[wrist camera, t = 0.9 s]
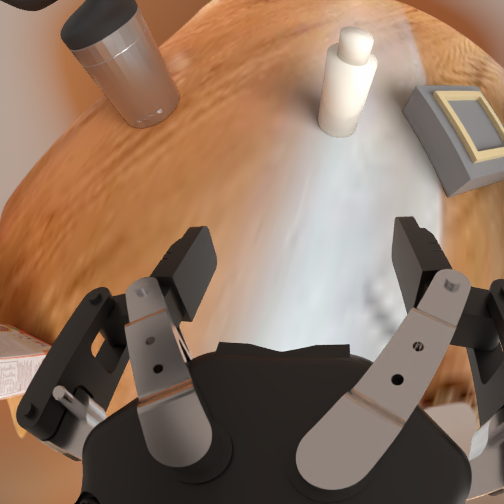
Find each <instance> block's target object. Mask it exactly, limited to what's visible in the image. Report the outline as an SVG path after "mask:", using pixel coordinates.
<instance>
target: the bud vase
mask: <svg viewBox="0 0 504 504" xmlns="http://www.w3.org/2000/svg"><path fill="white" fill-rule="evenodd" d="M373 41H374V39H373V37H372V35H371V34H370V33H368V32H367V31H365V30H363V29H360V28H357V27H344V28H342V29H341V31H340V38H339V43H336V44H333V45H331V46H330V47H329V48H328V51H327V58H326V66H325V73H324V80H323V88H322V95H321V101H320V108H319V115H318V124H319V126H320V128H321V129H322V130H323V131H324V132H325V133H326V134H328V135H330V136H332V137H336V138H345V137H348V136H350V135H352V134H353V133H354V131H355V129H356V126H357V124H358V121H359V118H360V115H361V112H362V109H363V107H364V104H365V101H366V98H367V95H368V92H369V89H370V86H371V83H372V80H373V77H374V74H375V71H376V68H377V59H376V58H375V56H374V55H373V54H372V53H371V49H372V45H373Z"/></svg>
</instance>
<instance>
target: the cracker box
mask: <svg viewBox="0 0 504 504" xmlns="http://www.w3.org/2000/svg"><path fill="white" fill-rule="evenodd" d="M51 347H52V345H50V344H48V343H46V342H44V341H42V340H40V339H38V338H36V337H34V336H32V335H30V334H28V333H26V332H24V331H22V330H21V329H19V328H17V327H15V326H13V325H11V324H0V400H2V399H7V398H11V397H15V396H19V395H23V394H25V392H26V390H27V388H28V386H29V384H30V383H31V381H32V379H33V377H34V375H35V374H36V372H37V370H38V368H39V367H40V365H41V363H42V361H43V360H44V358H45V356H46V355H47V353H48V351H49V350H50V348H51Z"/></svg>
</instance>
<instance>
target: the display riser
mask: <svg viewBox="0 0 504 504" xmlns="http://www.w3.org/2000/svg"><path fill="white" fill-rule="evenodd" d="M403 113H404V115H405V117H406V118H407V120H408V122H409V123H410V125H411V127H412V128H413V130H414V132H415V133H416V135H417V137H418V139H419V140H420V142H421V144H422V146H423V148H424V149H425V151H426V153H427V155H428V157H429V159H430V161H431V163H432V165H433V167H434V169H435V171H436V173H437V175H438V177H439V179H440V181H441V184H442V186H443V188H444V190H445V193H446V195H447V197H451V196H454V195H458V194H461V193H464V192H467V191H471V190H474V189H477V188H480V187H483V186H487V185H490V184H493V183H496V182H499V181H503V180H504V126H503V124H502V123H501V121H500V120H499V118H498V116H497V115H496V113H495V112H494V110H493V108H492V107H491V105H490V104H489V102H488V101H487V100H486V98H485V97H484V95H483V94H482V92H481V91H480V90H479V88H478V87H477V86H449V85H439V86H416V87H415V89H414V91H413V93H412V95H411V97H410V98H409V100H408V102H407V104H406V106H405V108H404V110H403Z"/></svg>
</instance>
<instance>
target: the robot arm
mask: <svg viewBox="0 0 504 504" xmlns="http://www.w3.org/2000/svg"><path fill="white" fill-rule="evenodd" d="M1 1H3V2H5V3H7V4H9V5H11V6H14V7H16V8H19V9H22V10H27V11H38V10H41V9H43V8H45V7H47V6H49V5H51V4H53V3H54V2H56V1H57V0H1ZM61 38H62V40H63V42H64V43H65V44H66V45H67V47H68V48H69V49H70V51H71V52H72V53H73V55H74V56H75V57H76V58H77V60H78V61H79V62H80V63H81V64H82V66H83V67H84V69H85V70H86V71H87V72H88V74H89V75H90V76H91V78H92V79H93V80H94V81H95V83H96V84H97V85H98V87H99V88H100V89H101V90H102V92H103V93H104V94H105V95H106V97H107V98H108V99H109V100H110V102H111V103H112V104H113V105H114V107H115V108H116V109H117V111H118V112H119V113H120V114H121V116H122V117H123V118H124V119H125V121H126V122H127V123H128V124H129V125H130V126H132V127H135V128H146V127H150V126H153V125H155V124H157V123H159V122H161V121H162V120H164V119H165V118H166V117H168V116H169V115H170V114H171V113H172V112H173V110H174V109H175V108H176V106H177V104H178V101H179V91H178V89H177V87H176V85H175V83H174V81H173V79H172V77H171V74H170V72H169V70H168V68H167V66H166V64H165V62H164V60H163V57H162V55H161V53H160V51H159V49H158V47H157V45H156V43H155V41H154V39H153V37H152V34H151V33H150V30H149V28H148V26H147V24H146V22H145V20H144V18H143V16H142V14H141V12H140V10H139V8H138V5H137V4H136V1H135V0H86V1H85V2H84V3H83V4H82V5H81V6H80V7H79V8H78V9H77V10H76V11H75V12H74V13H73V14H72V15H71V16H70V18H69V19H68V20H67V21H66V23H65V24H64V26H63V28H62V30H61ZM166 253H167V254H165V255H164V257H163V258H162V260H161V261H160V262H159V264H158V265H157V267H156V268H155V270H154V271H153V272H152V274H151V275H150V277H144V278H141V279H139V280H137V281H135V282H133V283H132V284H131V285H130V286H129V287H128V288H127V290H126V294H121V295H117V296H112V295H111V293H110V291H109V289H108V288H105V287H100V288H96V289H94V290H92V291H91V292H89V293H88V294H87V295H86V296H85V297H84V299H83V300H82V301H81V303H80V304H79V306H78V307H77V309H76V310H75V311H74V313H73V314H72V316H71V317H70V319H69V320H68V322H67V323H66V325H65V326H64V328H63V329H62V331H61V332H60V334H59V336H58V337H57V339H56V340H55V342H54V343H53V345H52V347H51V348H50V350H49V351H48V353H47V355H46V356H45V358H44V360H43V361H42V363H41V365H40V367H39V368H38V370H37V372H36V374H35V375H34V377H33V379H32V381H31V383H30V384H29V386H28V388H27V390H26V392H25V394H24V396H23V398H22V399H21V401H20V403H19V405H18V408H17V412H16V418H17V422H18V424H19V425H20V426H21V427H22V428H24V429H25V430H27V431H28V432H29V433H31V434H32V435H34V436H35V437H36V438H37V439H38V440H39V441H41V442H42V443H44V444H46V445H47V446H49V447H50V448H52V449H53V450H55V451H57V452H59V453H62V454H63V455H65V456H67V457H69V458H70V459H72V460H74V461H81V460H82V464H83V480H82V490H81V493H80V496H79V498H78V500H77V501H76V503H75V504H465V502H466V501H467V500H470V499H473V498H477V497H480V496H483V495H486V494H488V495H491V496H497V495H500V494H502V493H504V279H497V280H495V281H493V282H492V284H491V286H490V289H489V290H486V289H480V288H475V287H471V284H470V282H469V280H468V278H467V277H466V276H465V275H464V274H462V273H461V272H459V271H456V270H453V269H452V267H451V265H450V264H449V262H448V260H447V258H446V256H445V254H444V252H443V251H442V250H441V247H440V245H439V244H438V242H437V240H436V238H435V237H434V235H433V234H432V233H431V232H429V231H428V230H427V229H425V228H420V227H419V226H418V224H417V222H416V220H415V219H414V217H396V218H395V223H394V234H393V244H392V262H393V266H394V269H395V272H396V275H397V279H398V282H399V285H400V289H401V292H402V296H403V300H404V303H405V307H406V311H407V316H406V317H405V319H404V321H403V322H402V324H401V325H400V327H399V328H398V330H397V331H396V332H395V334H394V335H393V337H392V338H391V340H390V341H389V343H388V344H387V345H386V347H385V348H384V349H383V351H382V352H381V354H380V355H379V356H378V358H377V359H376V360H375V362H374V363H373V362H371V361H370V360H368V359H365V358H363V357H360V356H356V355H352V354H350V345H349V344H346V345H315V346H310V347H305V348H300V349H295V350H290V351H285V352H279V351H275V350H271V349H267V348H263V347H259V346H256V345H252V344H243V343H226V342H219V344H218V347H217V350H216V351H215V352H210V353H206V354H203V355H200V356H198V357H196V358H194V359H193V357H192V354H191V352H190V350H189V347H188V345H187V343H186V340H185V338H184V335H183V333H182V330H181V328H180V326H179V325H180V322H181V321H188V322H192V321H193V318H194V316H195V314H196V312H197V309H198V307H199V305H200V303H201V300H202V298H203V296H204V294H205V292H206V289H207V287H208V285H209V283H210V281H211V278H212V276H213V274H214V272H215V270H216V266H217V257H216V253H215V249H214V246H213V243H212V239H211V236H210V232H209V229H208V228H207V227H206V226H200V227H190V228H189V229H188V230H187V231H186V233H185V234H184V236H183V237H182V239H179V240H178V241H176V242H175V243H174V244H173V245H171V247H170V248H169V250H168V251H167V252H166ZM98 332H100V333H101V335H102V336H103V337H104V339H105V341H104V342H103V344H102V346H101V348H100V350H99V352H98V353H97V355H96V357H94V356H93V355H92V352H91V345H92V343H93V341H94V339H95V337H96V336H97V334H98ZM500 342H501V344H500ZM449 344H451V345H456V346H462V347H466V349H467V353H468V358H469V362H470V366H471V371H472V376H473V381H474V386H475V392H476V398H477V405H478V412H479V420H480V428H479V429H478V430H477V431H476V432H475V434H474V436H473V439H472V442H471V450H470V455H469V457H468V458H467V456H466V454H465V453H464V451H463V450H462V449H461V448H460V447H459V446H458V445H457V444H456V443H455V442H454V441H453V440H452V439H451V438H450V437H449V436H448V435H447V434H446V433H445V432H444V431H443V430H442V429H441V428H440V427H439V426H438V425H437V424H436V422H435V421H434V420H432V418H431V417H430V416H429V415H428V414H427V413H426V412H425V411H424V410H423V409H422V408H421V407H420V406H419V405H418V402H419V401H420V399H421V397H422V396H423V394H424V392H425V391H426V389H427V387H428V385H429V383H430V382H431V380H432V378H433V376H434V374H435V372H436V370H437V369H438V367H439V365H440V363H441V361H442V359H443V357H444V354H445V352H446V350H447V348H448V346H449ZM501 345H502V347H501ZM502 348H503V351H502ZM129 358H130V361H131V366H132V371H133V376H134V380H135V385H136V389H137V394H138V397H137V398H136V399H134V400H133V401H131V402H130V403H128V404H127V405H126V406H124V407H123V408H121V409H120V410H118V411H117V412H115V413H114V414H112V415H111V416H109V417H108V418H106V411H107V408H108V406H109V403H110V401H111V399H112V396H113V394H114V392H115V389H116V387H117V385H118V383H119V380H120V378H121V376H122V374H123V371H124V369H125V367H126V365H127V363H128V361H129Z"/></svg>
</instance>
